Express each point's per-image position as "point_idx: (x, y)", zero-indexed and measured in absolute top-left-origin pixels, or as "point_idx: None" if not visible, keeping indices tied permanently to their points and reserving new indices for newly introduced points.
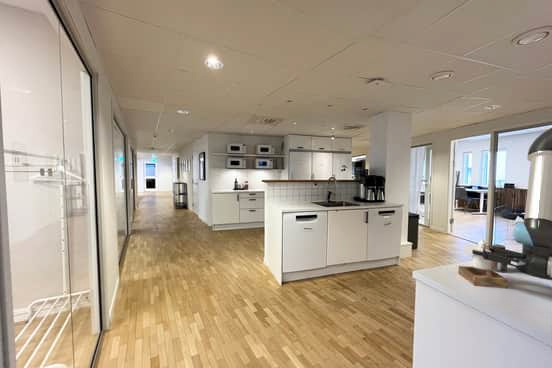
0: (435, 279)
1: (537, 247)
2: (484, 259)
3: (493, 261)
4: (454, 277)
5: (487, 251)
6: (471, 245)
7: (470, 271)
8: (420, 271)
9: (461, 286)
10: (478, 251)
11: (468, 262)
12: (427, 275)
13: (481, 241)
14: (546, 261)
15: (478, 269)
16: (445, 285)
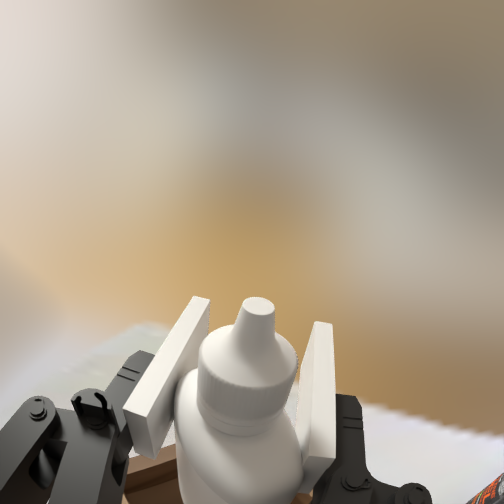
0: (98, 364)
1: None
2: (186, 483)
3: (485, 501)
4: (171, 425)
5: (200, 466)
6: (311, 344)
7: None
8: (158, 328)
9: None
10: (121, 385)
11: (455, 432)
12: (127, 345)
13: (233, 328)
14: None
15: (305, 497)
16: (52, 385)
